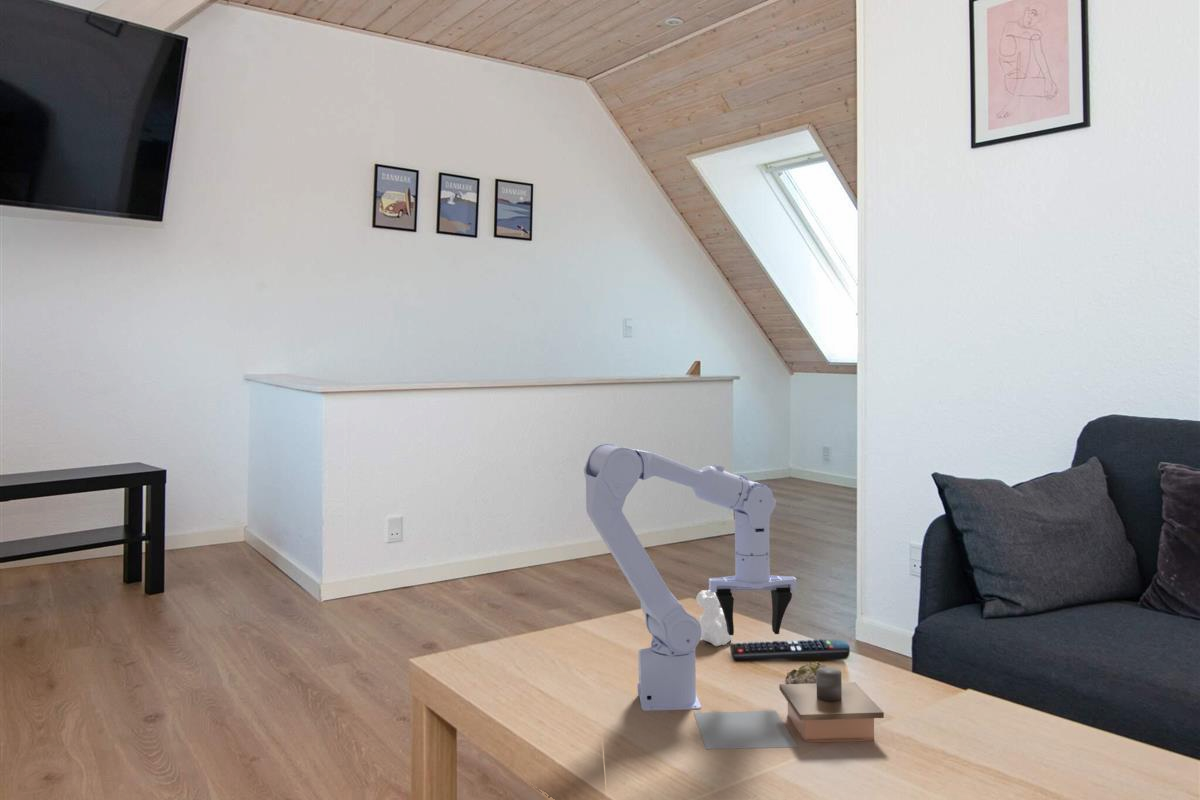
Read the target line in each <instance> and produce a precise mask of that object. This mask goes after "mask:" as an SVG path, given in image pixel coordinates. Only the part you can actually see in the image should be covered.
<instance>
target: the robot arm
mask: <svg viewBox="0 0 1200 800" xmlns="http://www.w3.org/2000/svg"><path fill="white" fill-rule="evenodd" d="M724 469H725V466H723V465H719V464H713V466H711V465H706V466H704V467H701V468H699V469H696V468H694V467H692V466H688V465H686V464H684V463H681V462H678V461H676V460H673V459H671V458H668V457H665V456H663V455H661V454H657V453H655V452H651V451H647V450H642V449H637V448H629V447H625V446H621V447H620V446H616V445H614V444H611V443H602V444H601V443H600V444H598V445H597V446H596V447H593V449H592V450H591V452H589V455H588V458H587V461H586V463H585V466H584V468H583V473H584V478H585V494H586V495H585V500H586V501H585V503H586V505H585V506H586V507H585V509H586V513H587V515H588V518H590V521H591V522H592V524H593V525H594V527H595V530H597V532H598V533H599V535H600V537H601V539H602V540H603V542H604V543H605V545H606V547H607V549H608V550H609V552H610V553H611V555H612V557H613V558H614V560H615V562H616V563H617V565H618V567H619V569H620V570H621V571H622V573H623V575H624V577H625V578H626V580H627V581H628V583H629V585H630V586H631V588H632V590H633V592H634V593H635V595H636V597H637V598H638V600H639V601H640V608H641V611H642V612H643V614H644V617H645V618H644V619H645V625H646V629H647V631H648V632H649V634H650V635H651V636H652V639H651V643H650V647H649V646H648V647H647V648H640V649H639V650H638V655H637V656H638V659H637V660H638V683H637V695H638V696H639V697H638V698H639V702H640V705H641V710H642V711H647V712H649V711H682V710H683V711H685V710H688V711H689V710H701V709H702V705H701V703H700V700H699V698H698V694H697V690H696V689H697V686H696V685H697V684H696V683H697V681H696V679H697V678H696V647H697V646H698V645H699V643H700V641H701V639H702V638H701V626H700V623H699V619H697V618H696V617H695V616H694V615H692V614H691V613H689V612H687V611H686V609H685V608H684V606H683V605H682V603H681V602H680V601H679V600H678V599H677V598H676V597H675V596H674V594H673V593H672V592H671V591H670V589H669V588H668V586H667V584H666V582H665V581H664V579H663V578H662V576H661V574H660V573H659V571H658V569H657V568H656V566H655V564H654V563H653V560H651V557H650V556H649V554H648V553H647V551H646V549H645V547H644V546H643V544H642V543H641V541H640V539H639V538H638V536H637V534H636V532H635V531H634V529H633V528H632V525H631V524H630V522H629V520H628V519H627V518H626V516H625V514H624V512H623V507H624V504H625V502H626V499H627V497H628V495H629V494H630V493H631V491H632V489H633V488H634V487H635V485H636V484H637V482H638V481H639V479H640V480H642V481H645V480H648V479H650V478H652V477H656V478H659V479H660V478H661V479H663V480H667V481H669V482H673V483H675V484H676V483H677V484H679V485H682V486H686V487H689V488H691V489H692V490H693V493H694V495H695V496H696V498H697V499H699V500H701V501H705V502H707V503H711V504H714V505H716V506H719V507H722V508H725V509H728V510H731V511H733V512H734V568H735V569H734V572H735V573H734V575H731V576H722V577H711V578H708V590H710V592H715V594H716V596H717V598H718V600H719V602H720V608H722V610H723V613H724V616H725V620H726V625H727V632H728V634H729V635H733V636H734V633H735V631H734V630H735V629H734V601H735V599H734V597H733V592H735V591H736V592H737V591H740V592H741V591H770V594H771V607H772V610H771V611H772V613H771V614H772V616H771V629H772V630H771V631H772V632H773V634H774V635H780V630H781V626H782V621H783V618H784V615H785V612H786V610H787V608H788V606H789V604H790V602H791V601H792V597H793V593H792V592H791V591H797V590H798V584H797V583H798V581H797V579H798V578H796V577H795V576H786V575H785V576H784V575H783V576H782V575H771V571H770V570H771V565H770V560H771V559H770V554H771V553H770V523H771V522H770V521H771V519H770V518H771V515H772V514H773V512H774V511H775V508H776V505H777V499H775V498H774V494H773V491H772V489H770V488H769V486H768V485H766V484H764V483H762V482H761V483H759V482H756V481H752V480H749V476H748V475H745V474H740V475H738V474H737V475H736V474H733V473H732V472H728V471H726V470H724Z"/></svg>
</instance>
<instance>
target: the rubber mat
mask: <svg viewBox="0 0 1200 800" xmlns="http://www.w3.org/2000/svg"><path fill="white" fill-rule="evenodd" d="M693 716H694V718H695V722H696V723H697V727H698V730H699V733H700V735H701V738H702V741H703V744H704V747H705V748H706V749H705V750H732V749H733V750H734V749H735V750H738V749H771V748H772V749H773V748H774V749H775V748H777V749H779V748H798V745H797V743H796V742H795V739H794V738H793V735H791V733H790V732H789V729H788V728H787V727H786V725H785V723H784V722H783V720H782V718H781V717H780V715H779V714H778V712H777V710H757V711H756V710H754V711H753V710H752V711H716V712H715V711H713V712H711V711H710V712H693Z"/></svg>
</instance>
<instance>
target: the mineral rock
mask: <svg viewBox="0 0 1200 800" xmlns="http://www.w3.org/2000/svg"><path fill="white" fill-rule="evenodd" d="M822 667H827V666H826V664H824V663H821V662H820V663H819V661H814V662H808V663H807V664H805V665H801V666H800V667H799V668H798V669H796V668H795V669H792V670H791V671H790V672H787V673H786V677H785V683H784V684H812V683H817V673H816V670H817V669H818V668H822Z"/></svg>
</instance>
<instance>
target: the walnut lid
mask: <svg viewBox="0 0 1200 800" xmlns="http://www.w3.org/2000/svg"><path fill="white" fill-rule="evenodd" d="M816 673H817V683H812V684H785V683H782V684H779V687H778V688H779V691H780V693H781V694H782V695H783V697H784V698H785V700H786V702H787V704H788V703H789V704H790V706H791V707H792V709H793V710H794V712H795V713H796V715H797V716H798V717H799V719H800V720H831V719H865V718H874V719H884V718H885V717H884V715H885V712H884V711H883V710H882V709H881V707H880V706H878V705H877V704H876V702H875V701H874V700H873V699H872V698H871V697H870V696H869V695H868V694H867V693H866V692H865V691H864V690H863V689H862V688H861V686H859V684H858V683H856V682H848V681H847V682H842V671H841V669H838V668H835V667H832V666H831V667H830V666H829V667H828V666H826V667H822V668H818V669H817V670H816Z"/></svg>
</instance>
